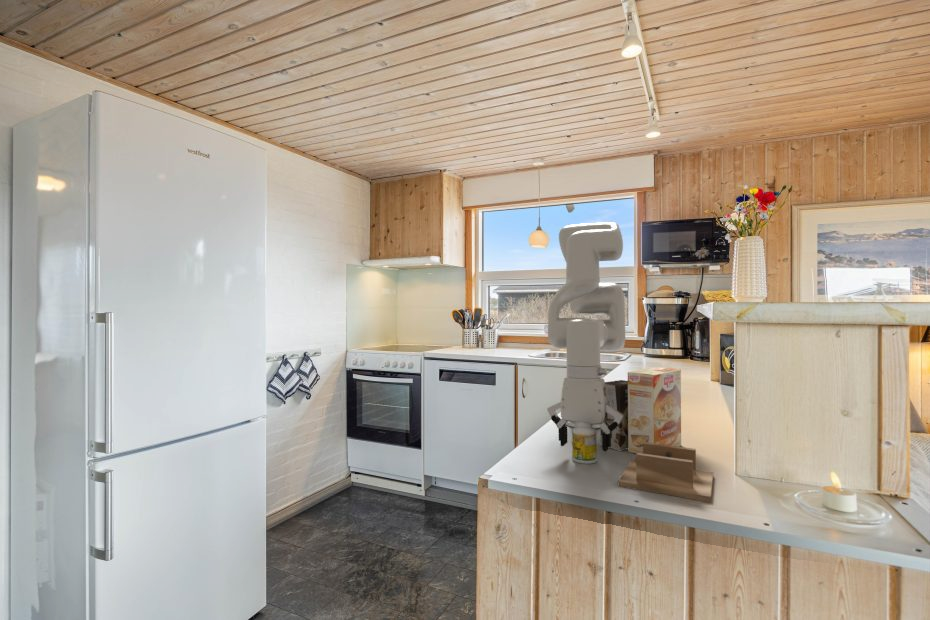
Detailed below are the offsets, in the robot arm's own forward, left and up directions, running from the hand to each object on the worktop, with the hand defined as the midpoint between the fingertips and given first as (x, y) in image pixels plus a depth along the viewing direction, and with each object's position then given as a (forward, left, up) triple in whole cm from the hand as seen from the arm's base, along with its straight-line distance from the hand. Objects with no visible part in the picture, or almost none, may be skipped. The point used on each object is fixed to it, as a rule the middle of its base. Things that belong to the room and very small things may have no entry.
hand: (584, 447), depth 105 cm
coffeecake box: (-17, +13, -3) cm, 22 cm away
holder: (+5, +18, -3) cm, 19 cm away
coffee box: (-16, +5, -3) cm, 17 cm away
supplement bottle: (0, 0, -3) cm, 3 cm away
